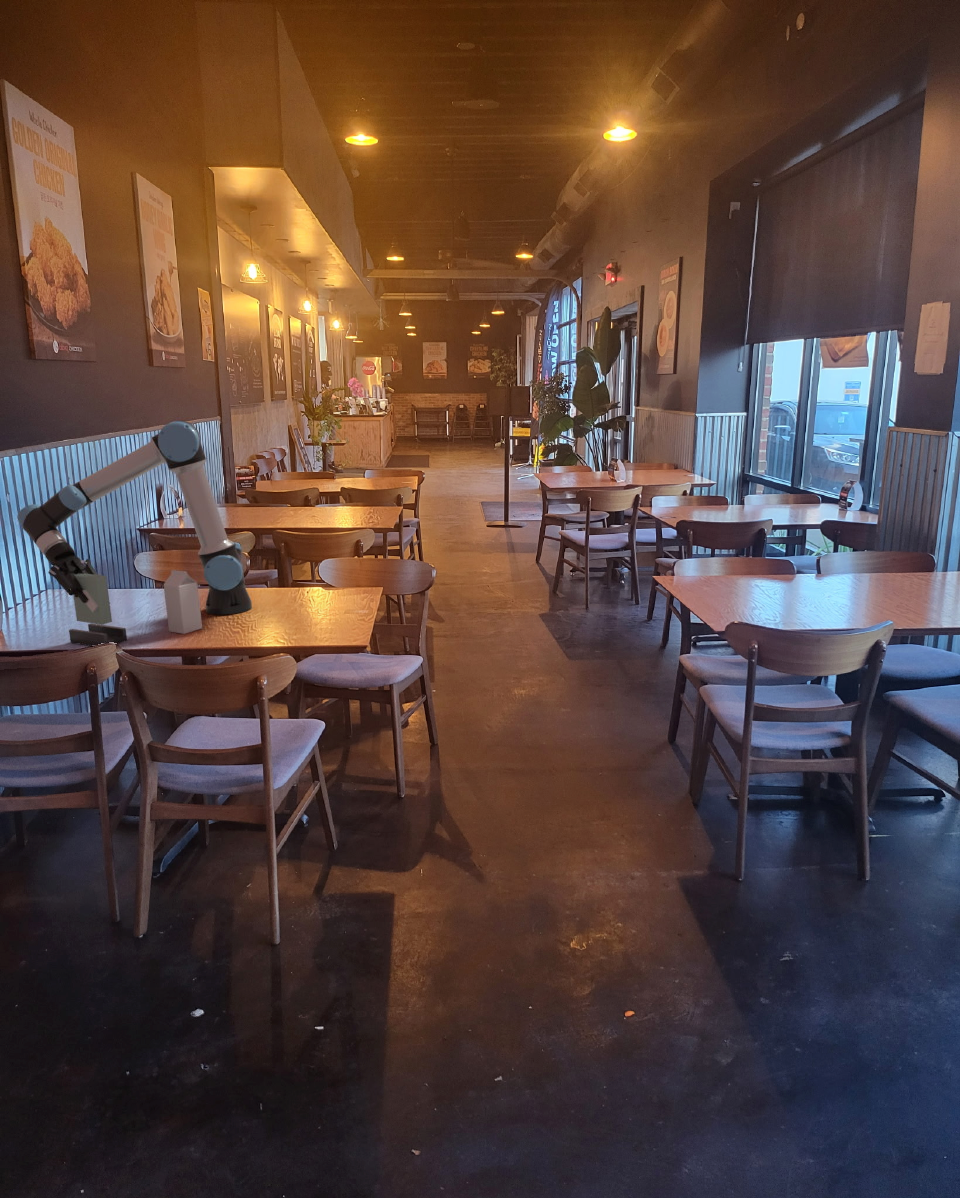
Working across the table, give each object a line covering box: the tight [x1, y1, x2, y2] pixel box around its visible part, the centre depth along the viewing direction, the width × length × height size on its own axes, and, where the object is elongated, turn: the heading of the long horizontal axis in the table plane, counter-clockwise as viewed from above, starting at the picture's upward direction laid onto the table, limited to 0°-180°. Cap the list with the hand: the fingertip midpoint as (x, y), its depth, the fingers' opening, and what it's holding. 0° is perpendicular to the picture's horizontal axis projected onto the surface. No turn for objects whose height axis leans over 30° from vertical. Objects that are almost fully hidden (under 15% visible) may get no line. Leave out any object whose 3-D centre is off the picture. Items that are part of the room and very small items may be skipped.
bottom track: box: [68, 623, 128, 647], centre depth 255 cm, size 15×8×4 cm, turn 63°
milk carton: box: [163, 569, 203, 635], centre depth 263 cm, size 7×7×19 cm
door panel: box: [72, 573, 113, 625], centre depth 252 cm, size 11×4×14 cm, turn 63°
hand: (101, 607), depth 251 cm, fingers closed on door panel, 3 cm apart
